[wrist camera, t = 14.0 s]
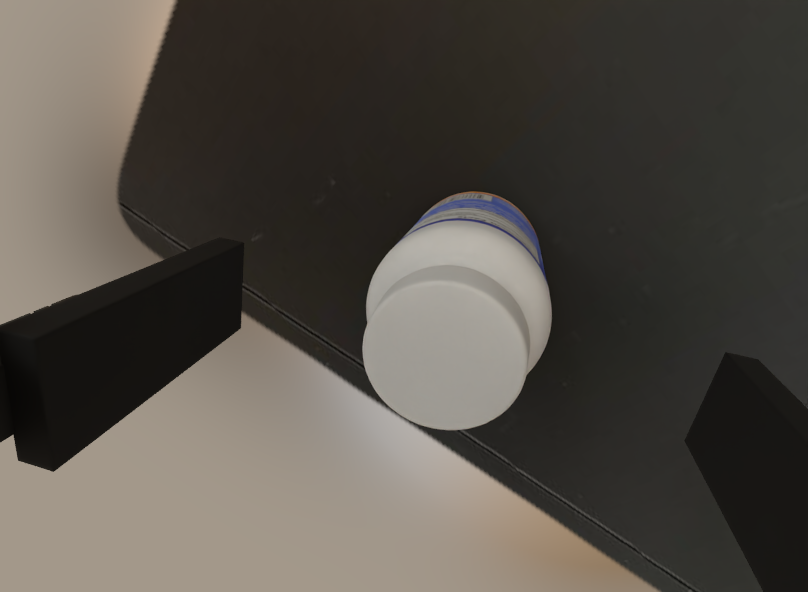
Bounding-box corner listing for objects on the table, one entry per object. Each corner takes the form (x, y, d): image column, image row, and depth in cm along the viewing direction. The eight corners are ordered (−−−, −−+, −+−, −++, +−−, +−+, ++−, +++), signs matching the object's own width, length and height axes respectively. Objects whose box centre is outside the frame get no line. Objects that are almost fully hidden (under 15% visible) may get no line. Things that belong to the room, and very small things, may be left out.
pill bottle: (499, 334, 21) (489, 494, 12) (389, 277, 22) (303, 395, 13) (566, 226, 19) (614, 327, 10) (445, 164, 19) (388, 210, 10)
